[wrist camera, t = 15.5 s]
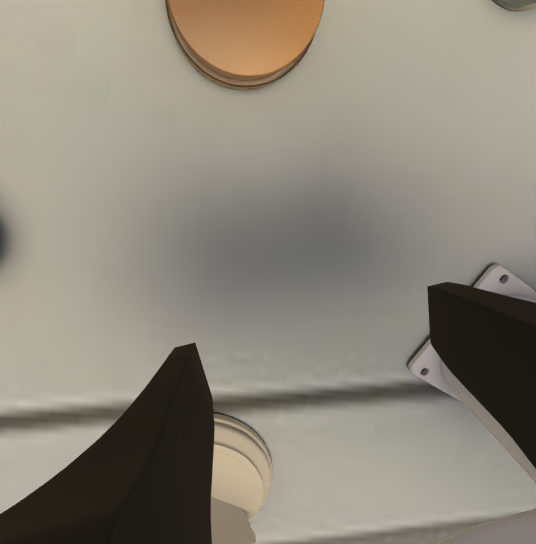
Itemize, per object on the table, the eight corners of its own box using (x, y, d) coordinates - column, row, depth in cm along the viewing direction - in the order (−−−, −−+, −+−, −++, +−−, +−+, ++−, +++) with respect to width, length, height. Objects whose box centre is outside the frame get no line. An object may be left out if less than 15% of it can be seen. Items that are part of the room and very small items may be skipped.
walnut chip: (338, -8, 17) (350, -20, 16) (261, 118, 18) (266, 117, 17) (217, -116, 15) (217, -141, 14) (142, 32, 17) (135, 23, 15)
